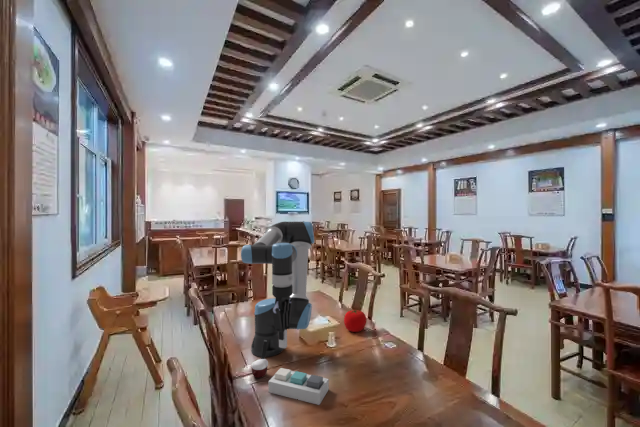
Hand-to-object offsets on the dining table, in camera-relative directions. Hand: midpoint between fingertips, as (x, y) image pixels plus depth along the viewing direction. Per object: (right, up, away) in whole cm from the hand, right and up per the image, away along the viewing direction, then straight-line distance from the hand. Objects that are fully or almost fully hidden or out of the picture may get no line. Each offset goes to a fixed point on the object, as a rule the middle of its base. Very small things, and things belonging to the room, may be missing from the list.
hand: (283, 346), depth 114 cm
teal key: (+6, -13, -2) cm, 15 cm away
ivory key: (0, -13, 0) cm, 13 cm away
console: (+6, -15, -2) cm, 16 cm away
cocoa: (-10, -15, +8) cm, 20 cm away
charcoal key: (+12, -13, -5) cm, 19 cm away
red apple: (+33, -14, +53) cm, 64 cm away
